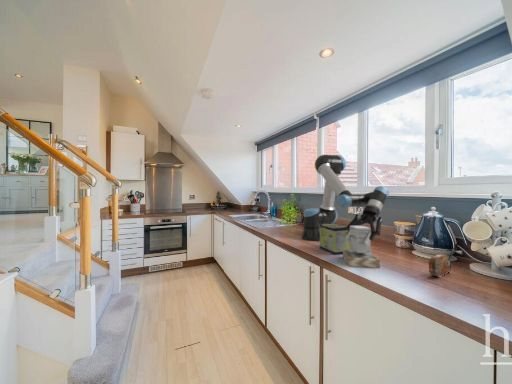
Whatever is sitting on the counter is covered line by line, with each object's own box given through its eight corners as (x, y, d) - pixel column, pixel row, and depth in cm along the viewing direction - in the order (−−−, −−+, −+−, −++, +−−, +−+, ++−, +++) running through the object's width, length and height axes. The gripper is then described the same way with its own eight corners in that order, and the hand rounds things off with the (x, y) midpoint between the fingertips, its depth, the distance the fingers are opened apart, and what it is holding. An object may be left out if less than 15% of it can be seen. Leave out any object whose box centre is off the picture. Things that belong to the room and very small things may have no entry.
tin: (436, 279, 86) (436, 259, 85) (427, 276, 88) (427, 257, 88) (452, 272, 92) (452, 253, 92) (443, 270, 95) (443, 252, 95)
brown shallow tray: (348, 265, 101) (348, 257, 101) (342, 256, 115) (342, 249, 115) (379, 267, 98) (379, 259, 98) (370, 258, 112) (370, 250, 112)
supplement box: (349, 248, 110) (349, 225, 110) (362, 248, 111) (362, 225, 110) (357, 253, 103) (357, 228, 102) (371, 252, 103) (371, 227, 103)
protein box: (332, 246, 136) (332, 223, 136) (349, 253, 121) (349, 227, 121) (319, 247, 133) (319, 224, 133) (335, 255, 118) (334, 228, 118)
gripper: (397, 216, 105) (381, 251, 97) (356, 212, 124) (340, 242, 116) (392, 206, 102) (375, 242, 94) (351, 203, 121) (334, 233, 113)
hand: (356, 242), depth 105 cm, fingers closed on supplement box, 9 cm apart
